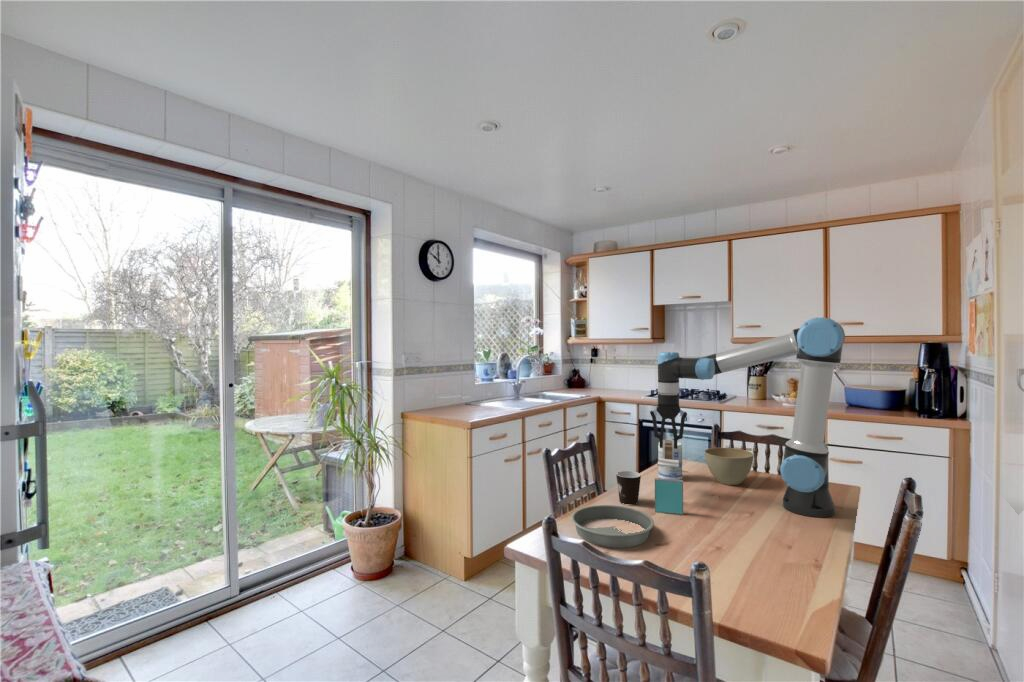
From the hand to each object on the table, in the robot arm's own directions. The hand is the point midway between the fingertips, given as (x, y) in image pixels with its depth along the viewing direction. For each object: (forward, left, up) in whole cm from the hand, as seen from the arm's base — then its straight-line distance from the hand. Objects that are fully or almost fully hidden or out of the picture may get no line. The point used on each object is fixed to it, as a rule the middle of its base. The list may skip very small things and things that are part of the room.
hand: (668, 456), depth 177 cm
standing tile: (-10, +13, -15) cm, 22 cm away
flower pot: (-3, -34, -15) cm, 37 cm away
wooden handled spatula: (-1, +2, -1) cm, 2 cm away
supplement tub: (+14, -19, -15) cm, 28 cm away
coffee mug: (+6, +15, -15) cm, 22 cm away
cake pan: (-11, +41, -15) cm, 45 cm away
